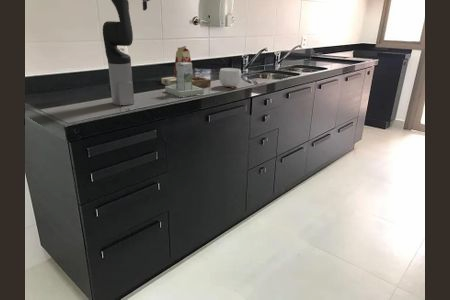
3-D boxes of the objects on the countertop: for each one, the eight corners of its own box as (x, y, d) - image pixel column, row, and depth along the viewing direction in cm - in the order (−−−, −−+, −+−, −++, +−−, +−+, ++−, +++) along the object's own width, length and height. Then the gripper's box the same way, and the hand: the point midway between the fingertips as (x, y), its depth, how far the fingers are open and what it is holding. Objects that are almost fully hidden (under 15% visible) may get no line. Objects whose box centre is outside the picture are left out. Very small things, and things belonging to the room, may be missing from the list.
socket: (210, 86, 177) (210, 79, 175) (193, 88, 170) (193, 81, 169) (199, 83, 185) (199, 76, 183) (183, 85, 178) (183, 78, 177)
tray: (203, 94, 158) (203, 89, 157) (180, 97, 151) (180, 91, 150) (187, 88, 170) (187, 83, 169) (165, 91, 162) (165, 86, 161)
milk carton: (194, 79, 196) (193, 45, 188) (182, 81, 190) (181, 46, 182) (184, 77, 202) (183, 44, 194) (173, 79, 196) (171, 45, 188)
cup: (245, 87, 178) (246, 69, 175) (230, 90, 170) (231, 72, 166) (229, 83, 186) (229, 67, 182) (214, 86, 177) (214, 69, 174)
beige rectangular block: (183, 85, 180) (183, 79, 179) (171, 87, 175) (171, 80, 174) (173, 82, 187) (173, 76, 185) (161, 84, 182) (161, 78, 180)
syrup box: (184, 90, 164) (184, 61, 158) (192, 92, 160) (192, 62, 155) (176, 91, 160) (175, 62, 154) (184, 93, 156) (183, 63, 151)
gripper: (120, -32, 137) (124, 9, 144) (151, -28, 145) (153, 10, 152) (115, -30, 143) (118, 9, 149) (144, -27, 151) (146, 10, 157)
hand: (136, 10), depth 150 cm, fingers open, 8 cm apart
